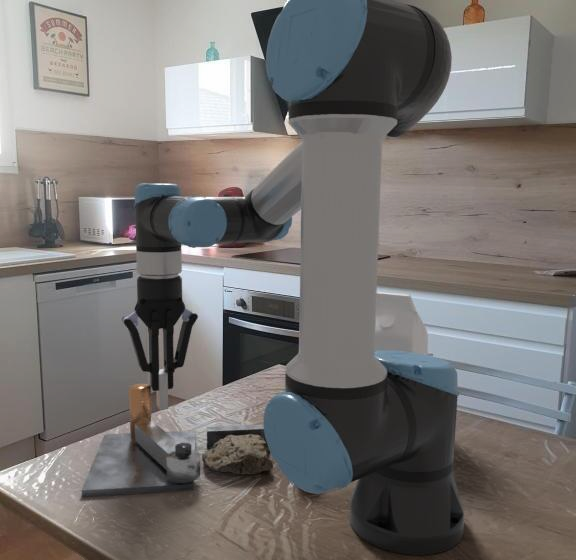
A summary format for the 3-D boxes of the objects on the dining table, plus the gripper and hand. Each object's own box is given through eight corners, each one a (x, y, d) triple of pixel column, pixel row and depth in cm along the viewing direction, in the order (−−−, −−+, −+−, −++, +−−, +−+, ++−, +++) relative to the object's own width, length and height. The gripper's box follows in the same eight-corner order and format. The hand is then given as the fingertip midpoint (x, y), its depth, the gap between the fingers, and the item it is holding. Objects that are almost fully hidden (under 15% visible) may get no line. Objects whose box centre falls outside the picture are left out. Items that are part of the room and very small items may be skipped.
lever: (206, 477, 88) (205, 420, 87) (175, 486, 86) (174, 427, 84) (150, 430, 106) (149, 381, 104) (123, 436, 103) (121, 386, 101)
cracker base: (313, 483, 90) (313, 439, 89) (81, 496, 85) (79, 451, 84) (293, 431, 110) (294, 394, 109) (104, 439, 105) (103, 402, 104)
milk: (427, 426, 112) (434, 292, 108) (411, 449, 102) (417, 302, 98) (368, 415, 118) (372, 286, 114) (346, 436, 108) (350, 295, 104)
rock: (203, 452, 101) (202, 428, 100) (267, 449, 102) (267, 425, 101) (201, 482, 90) (200, 456, 90) (273, 479, 92) (273, 453, 91)
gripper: (190, 270, 106) (192, 395, 110) (116, 273, 101) (121, 405, 105) (202, 276, 100) (204, 409, 103) (124, 280, 94) (128, 420, 98)
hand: (162, 406), depth 104 cm, fingers closed
